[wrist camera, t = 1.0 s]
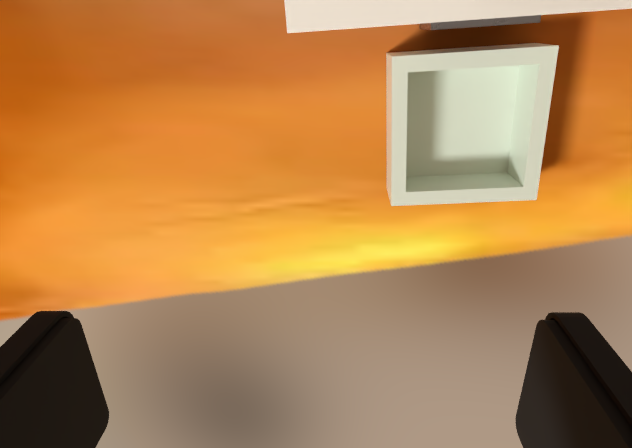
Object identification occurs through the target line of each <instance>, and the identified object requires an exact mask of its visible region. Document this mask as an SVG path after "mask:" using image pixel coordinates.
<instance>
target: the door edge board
mask: <svg viewBox="0 0 632 448" xmlns="http://www.w3.org/2000/svg"><path fill="white" fill-rule="evenodd" d="M630 8H632V0H285V12H286V23H287V33H296V32H310V31H324V30H338V29H352V28H366V27H380V26H394V25H408V24H420V29H423V30H440V29H454V28H468V27H483V26H497V25H511V24H525V23H539V22H540V19H541V15H547V14H561V13H575V12H588V11H602V10H616V9H630Z"/></svg>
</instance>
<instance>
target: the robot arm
mask: <svg viewBox="0 0 632 448" xmlns="http://www.w3.org/2000/svg"><path fill="white" fill-rule="evenodd" d="M108 419H109V411H108V407H107V404H106V401H105V398H104V394H103V391H102V388H101V385H100V382H99V379H98V376H97V372H96V369H95V366H94V363H93V360H92V357H91V354H90V350H89V347H88V344H87V341H86V338H85V335H84V332H83V329H82V325H81V323H80V321H79V320H78V319H75V318H74V317H73V315H72V314H71V313H70V312H67V311H39V312H36V313H35V314H34V315H32V316H31V317H30V318H29V319H28V320H27V321H26V322H25V323H24V324H23V325H22V326H21V327H20V328H19V329H18V330H17V331H16V332H15V333H14V334H13V335H12V336H11V337H10V338H9V339H8V340H7V341H6V342H5V343H4V344H3V345H2V346H1V347H0V448H95V447H96V445H97V444H98V441H99V440H100V438H101V436H102V434H103V433H104V431H105V429H106V427H107V424H108ZM516 429H517V433H518V436H519V438H520V441H521V443H522V445H523V448H632V372H631V371H630V369H629V368H628V367H627V366H626V365H625V363H624V362H623V361H622V359H621V358H620V357H619V356H618V355H617V353H616V352H615V351H614V350H613V349H612V347H611V346H610V345H609V344H608V342H607V341H606V340H605V339H604V337H603V336H602V335H601V334H600V332H599V331H598V330H597V329H596V328H595V326H594V325H593V324H592V323H591V322H590V320H589V319H588V318H587V317H586V316H585V315H584V314H582V313H549V314H548V315H547V316H546V319H545V320H540V321H539V322H538V323H537V326H536V330H535V335H534V339H533V343H532V348H531V352H530V357H529V361H528V365H527V370H526V374H525V379H524V383H523V387H522V392H521V396H520V401H519V405H518V410H517V414H516Z"/></svg>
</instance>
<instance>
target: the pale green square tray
mask: <svg viewBox="0 0 632 448" xmlns="http://www.w3.org/2000/svg"><path fill="white" fill-rule="evenodd" d="M558 49H559V45H551V44H541V43H525V44H510V45H495V46H480V47H466V48H451V49H436V50H421V51H406V52H391V53H386V128H387V192H388V195H389V199H390V203H391V206H402V205H426V204H450V203H474V202H498V201H522V200H537V193H538V186H539V179H540V172H541V166H542V159H543V152H544V145H545V138H546V131H547V124H548V118H549V111H550V104H551V97H552V90H553V83H554V76H555V70H556V63H557V56H558Z"/></svg>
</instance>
